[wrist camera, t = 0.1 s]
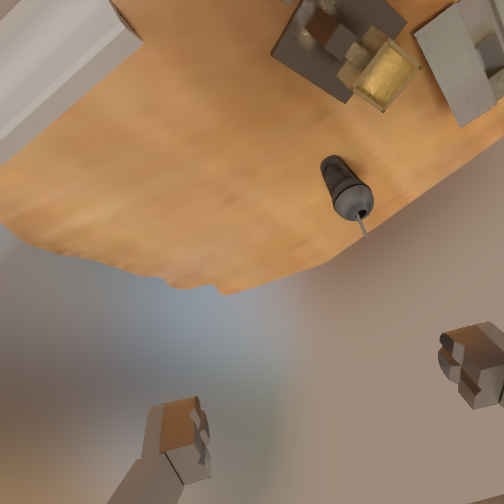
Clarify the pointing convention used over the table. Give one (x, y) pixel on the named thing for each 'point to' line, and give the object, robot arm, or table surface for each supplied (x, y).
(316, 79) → the bracket
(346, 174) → the dark travel mug
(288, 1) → the rail end
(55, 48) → the crown molding
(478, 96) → the grey grooved block
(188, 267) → the table surface
